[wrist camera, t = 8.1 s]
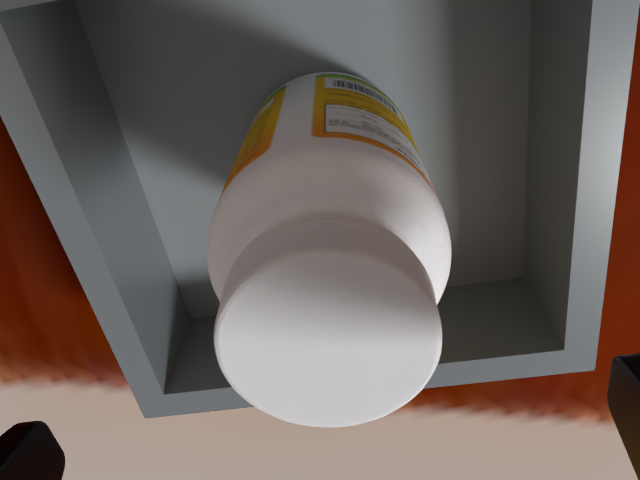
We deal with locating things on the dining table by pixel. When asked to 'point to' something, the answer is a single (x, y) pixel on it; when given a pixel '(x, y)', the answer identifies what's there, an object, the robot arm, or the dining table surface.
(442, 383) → the tote
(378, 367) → the supplement bottle
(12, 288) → the dining table surface
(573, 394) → the dining table surface
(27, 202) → the dining table surface
